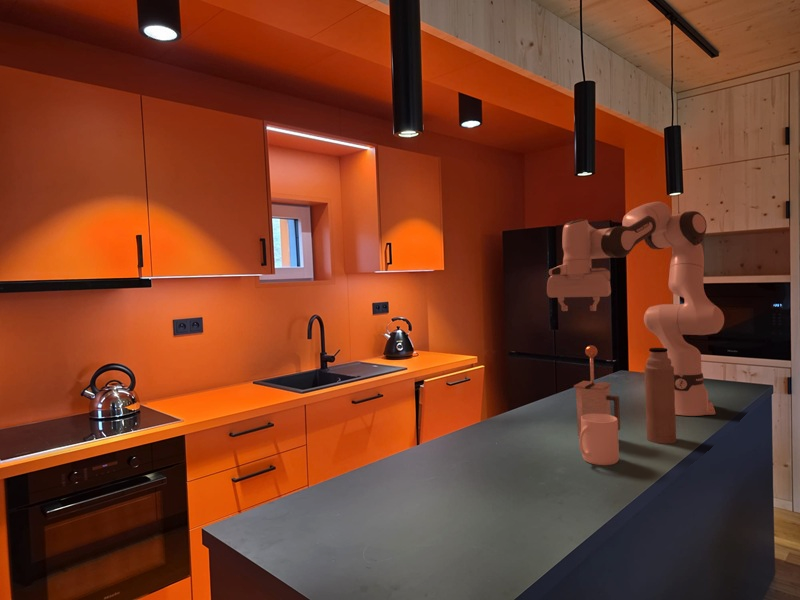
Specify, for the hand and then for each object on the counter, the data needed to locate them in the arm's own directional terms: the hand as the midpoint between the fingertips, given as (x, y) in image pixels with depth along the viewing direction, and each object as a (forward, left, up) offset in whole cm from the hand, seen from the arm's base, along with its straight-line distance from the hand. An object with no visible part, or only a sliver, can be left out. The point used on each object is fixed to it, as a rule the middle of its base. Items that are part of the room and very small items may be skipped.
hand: (578, 310), depth 170 cm
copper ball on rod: (+9, +7, -28) cm, 30 cm away
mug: (+27, +14, -40) cm, 50 cm away
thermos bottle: (-1, +24, -40) cm, 46 cm away
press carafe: (+9, +8, -39) cm, 41 cm away
